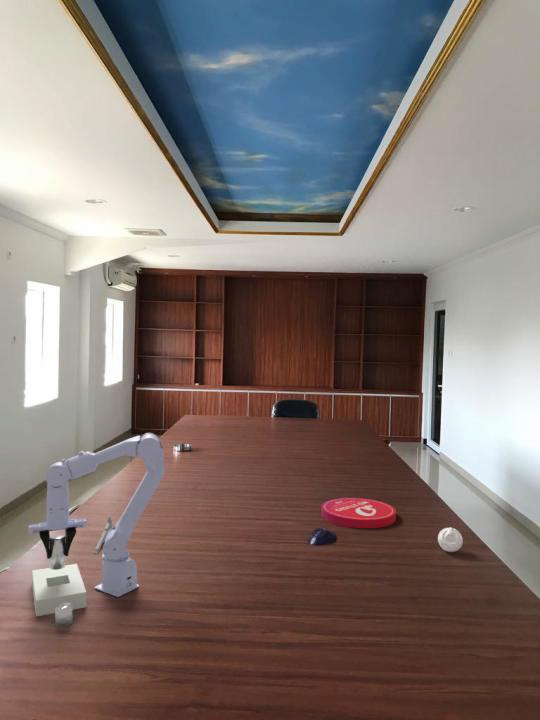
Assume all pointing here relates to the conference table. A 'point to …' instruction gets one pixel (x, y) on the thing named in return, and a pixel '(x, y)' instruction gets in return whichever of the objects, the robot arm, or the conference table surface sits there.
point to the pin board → (57, 589)
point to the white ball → (450, 539)
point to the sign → (358, 512)
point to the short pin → (63, 615)
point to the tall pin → (57, 552)
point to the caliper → (103, 535)
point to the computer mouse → (321, 537)
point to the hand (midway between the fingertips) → (57, 556)
